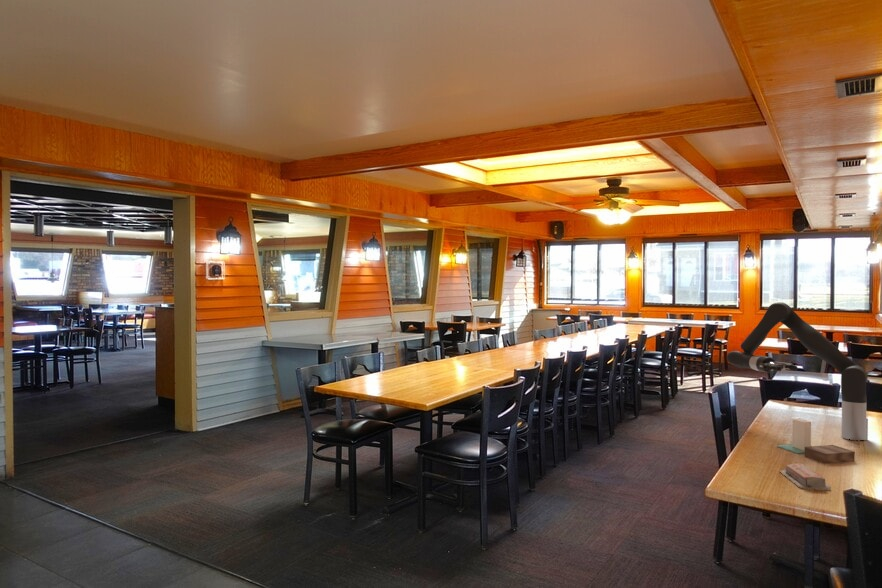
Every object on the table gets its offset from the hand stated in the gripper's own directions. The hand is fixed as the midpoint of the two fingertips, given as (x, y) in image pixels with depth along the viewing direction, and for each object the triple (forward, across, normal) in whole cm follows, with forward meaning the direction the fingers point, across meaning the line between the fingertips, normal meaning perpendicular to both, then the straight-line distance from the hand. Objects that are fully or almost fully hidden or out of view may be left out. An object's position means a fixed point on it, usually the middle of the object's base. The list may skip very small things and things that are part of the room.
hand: (788, 368), depth 266 cm
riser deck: (+31, -10, +32) cm, 46 cm away
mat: (+17, -10, +32) cm, 38 cm away
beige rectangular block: (+18, -10, +31) cm, 37 cm away
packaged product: (+50, -41, +33) cm, 73 cm away
